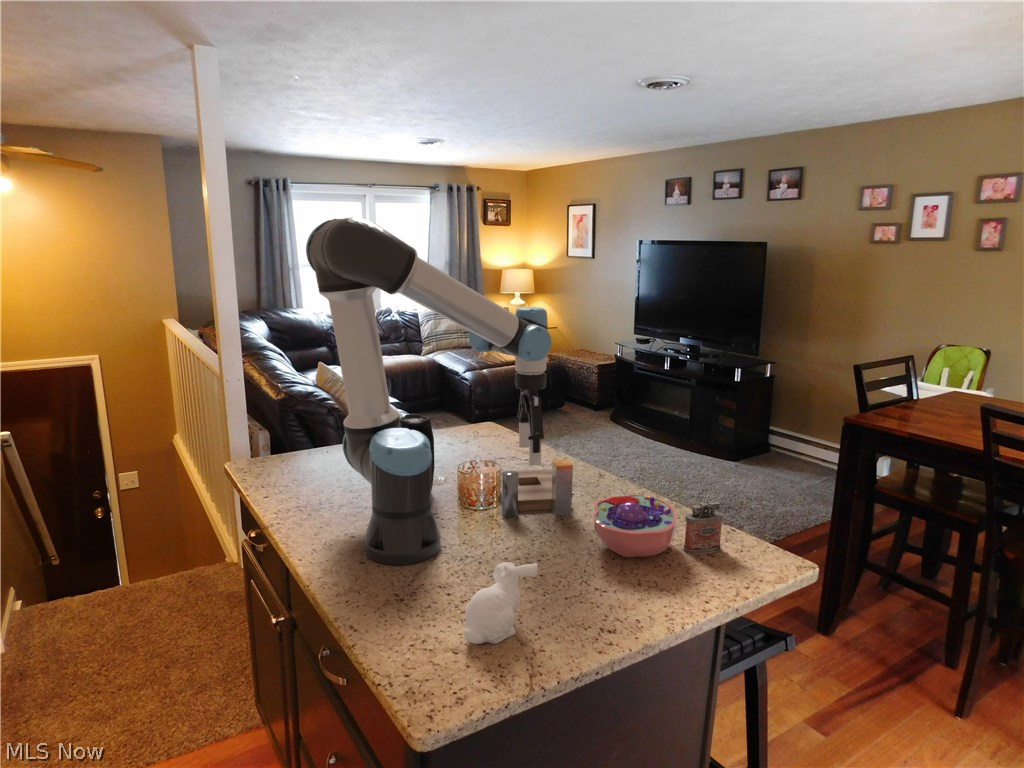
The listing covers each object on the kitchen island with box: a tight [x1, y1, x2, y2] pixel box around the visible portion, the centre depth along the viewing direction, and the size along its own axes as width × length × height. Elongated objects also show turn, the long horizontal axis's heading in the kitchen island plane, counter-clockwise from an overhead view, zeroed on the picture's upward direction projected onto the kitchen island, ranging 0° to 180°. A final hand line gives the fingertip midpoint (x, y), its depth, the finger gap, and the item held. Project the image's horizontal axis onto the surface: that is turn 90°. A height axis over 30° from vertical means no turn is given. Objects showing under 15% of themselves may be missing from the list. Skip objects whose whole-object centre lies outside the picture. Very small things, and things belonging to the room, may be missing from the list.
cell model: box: [593, 494, 678, 558], centre depth 125 cm, size 17×20×11 cm
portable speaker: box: [399, 413, 435, 492], centre depth 151 cm, size 9×9×20 cm
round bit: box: [501, 470, 519, 519], centre depth 141 cm, size 4×4×10 cm
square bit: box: [550, 459, 574, 517], centre depth 143 cm, size 4×4×12 cm
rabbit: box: [463, 561, 538, 645], centre depth 97 cm, size 12×9×12 cm
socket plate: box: [499, 468, 552, 512], centre depth 155 cm, size 20×16×2 cm
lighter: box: [682, 501, 724, 555], centre depth 126 cm, size 8×3×10 cm, turn 105°
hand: (529, 455), depth 155 cm, fingers open, 13 cm apart
